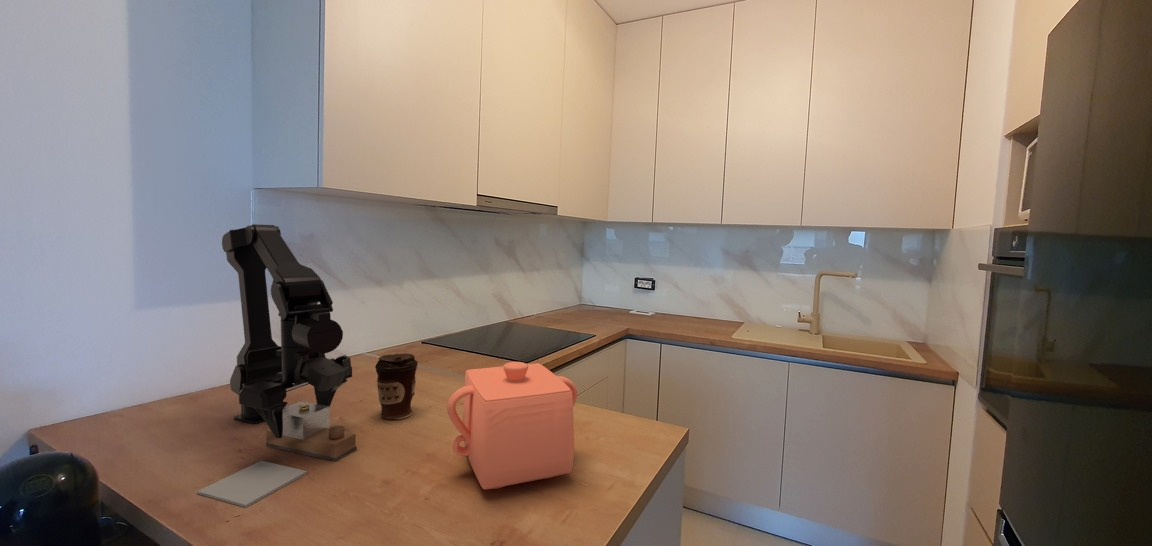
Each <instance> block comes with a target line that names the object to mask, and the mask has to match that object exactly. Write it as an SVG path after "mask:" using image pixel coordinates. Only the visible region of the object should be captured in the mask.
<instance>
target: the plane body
mask: <svg viewBox="0 0 1152 546" xmlns="http://www.w3.org/2000/svg"><path fill="white" fill-rule="evenodd" d="M356 435H357V434H356V433H353V432H349V431H345V426H343V425H335V426H330V427H329V428H327V429H325V430H323V431H321V432H319V433H316V434H314V435H312V436H310V437H308V438H306V439H304V440H303V439H298V438H293V437H288V436H283V435H282V438H276V437H275V436H274V434H273V433H272V431H271V430H270V428H268V429H266V430H265V438H266V442H265V447H269V448H273V449H276V450H277V449H278V450H282V451H287V452H291V453H296V454H300V455H303V456H304V455H306V456H309V457H310V456H311V457H314V458H319V459H323V460H328V461H333V462H338V461H340V460H342V459H344V458H345V457H347V456H348V455H350V454H352V453H354V452H355V451H357V450H358V448H357V443H356V442H357V441H356Z"/></svg>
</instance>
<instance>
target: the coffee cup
mask: <svg viewBox="0 0 1152 546" xmlns="http://www.w3.org/2000/svg"><path fill="white" fill-rule="evenodd" d="M415 357H416V356H415V355H414V354H412V353H394V354H384V355H381V356H379V357H378V360H377V363H376V364H375V367H374V368H375V373H376V374H377V379H376V380H377V381H376V384H377V391H378V392H377V393H378V395H377V396H378V402H379V404H380V407H381V413H380V417H381V418H382V419H385V420H402V419H406V418H409V417H411V416H412V415H413V410H412V407H411V405H412V401H413V396H415V391H416V390H415V389H416V372H417V370H418V363H419V362H418V361H417V360H416V359H415Z"/></svg>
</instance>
